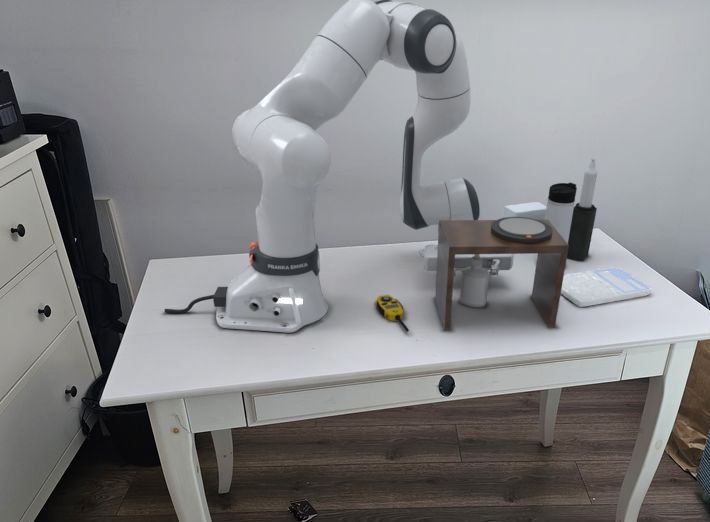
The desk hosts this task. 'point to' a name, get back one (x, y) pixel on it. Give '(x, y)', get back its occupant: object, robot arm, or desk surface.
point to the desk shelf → (480, 240)
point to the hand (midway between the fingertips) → (473, 272)
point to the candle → (583, 218)
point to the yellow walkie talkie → (391, 309)
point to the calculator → (602, 286)
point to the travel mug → (561, 207)
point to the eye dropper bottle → (474, 283)
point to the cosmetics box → (526, 211)
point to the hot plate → (521, 230)
